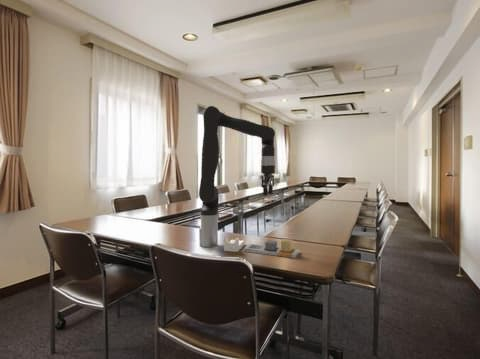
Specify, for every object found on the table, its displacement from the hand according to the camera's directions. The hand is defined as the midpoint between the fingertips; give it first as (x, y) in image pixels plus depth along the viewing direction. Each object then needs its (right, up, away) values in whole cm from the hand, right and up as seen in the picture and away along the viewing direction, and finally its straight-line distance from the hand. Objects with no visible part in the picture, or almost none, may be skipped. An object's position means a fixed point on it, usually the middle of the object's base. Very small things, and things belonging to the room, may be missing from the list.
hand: (268, 194), depth 149 cm
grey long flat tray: (0, -29, -13) cm, 32 cm away
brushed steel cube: (0, -28, -13) cm, 31 cm away
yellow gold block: (+7, -28, -16) cm, 33 cm away
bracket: (-18, -29, -5) cm, 35 cm away
